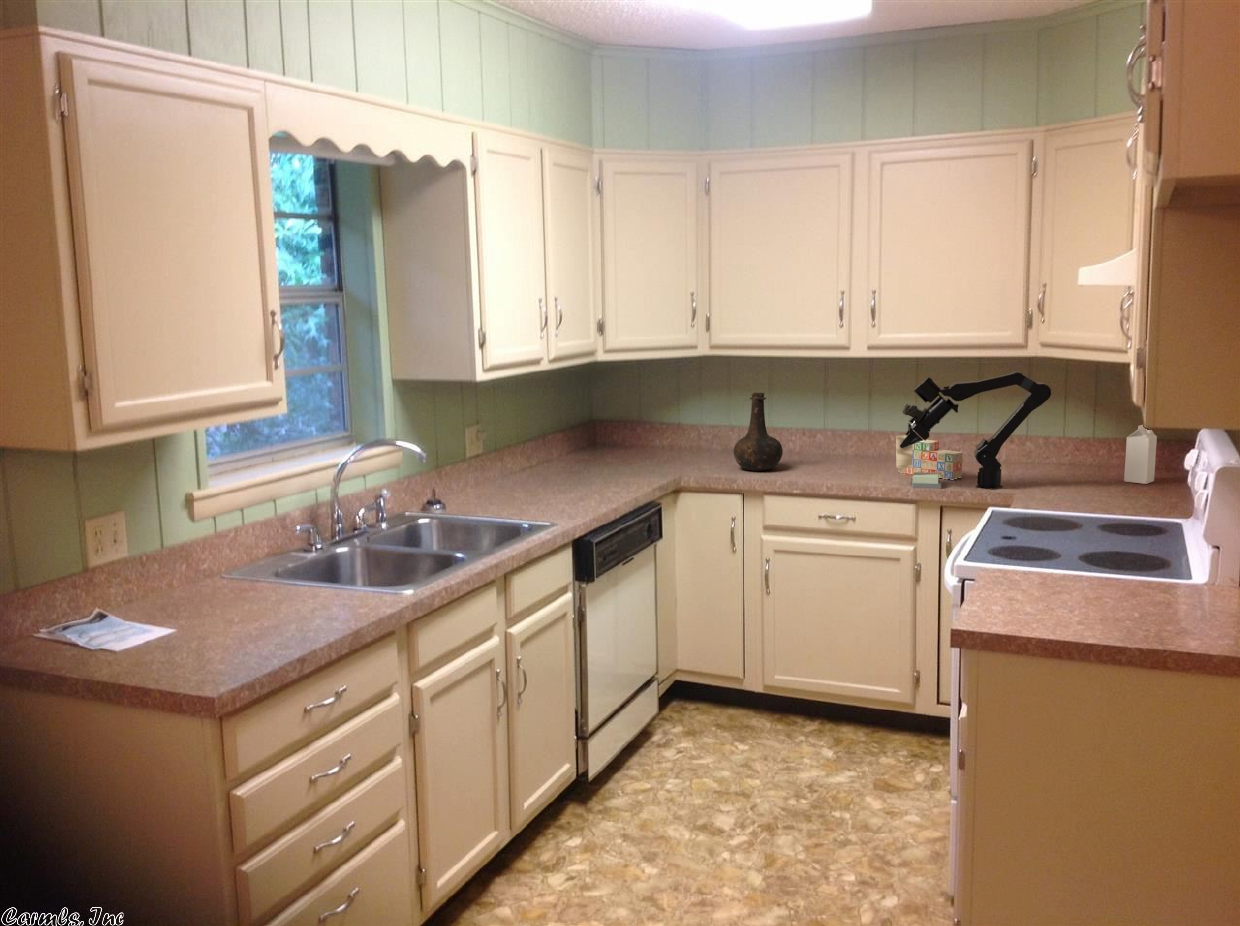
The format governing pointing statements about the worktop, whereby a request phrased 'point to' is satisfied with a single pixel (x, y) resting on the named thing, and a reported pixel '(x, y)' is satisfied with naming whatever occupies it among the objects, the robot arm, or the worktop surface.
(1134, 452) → the milk carton
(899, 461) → the tall block
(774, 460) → the glass bottle
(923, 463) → the stack of blocks
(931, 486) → the tower base
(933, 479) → the tower top
